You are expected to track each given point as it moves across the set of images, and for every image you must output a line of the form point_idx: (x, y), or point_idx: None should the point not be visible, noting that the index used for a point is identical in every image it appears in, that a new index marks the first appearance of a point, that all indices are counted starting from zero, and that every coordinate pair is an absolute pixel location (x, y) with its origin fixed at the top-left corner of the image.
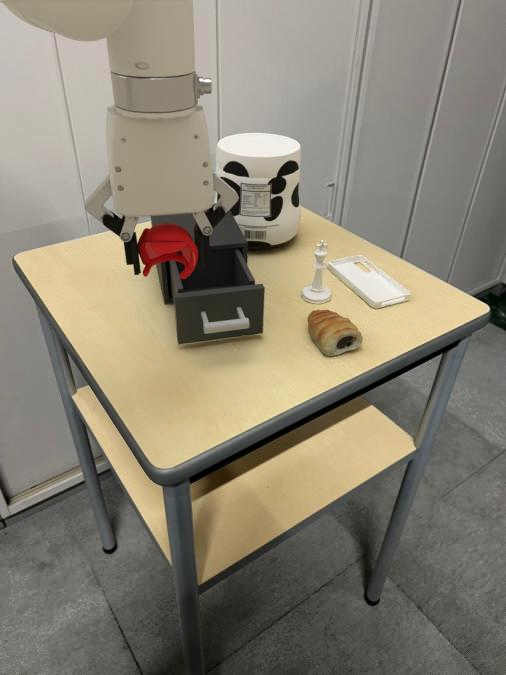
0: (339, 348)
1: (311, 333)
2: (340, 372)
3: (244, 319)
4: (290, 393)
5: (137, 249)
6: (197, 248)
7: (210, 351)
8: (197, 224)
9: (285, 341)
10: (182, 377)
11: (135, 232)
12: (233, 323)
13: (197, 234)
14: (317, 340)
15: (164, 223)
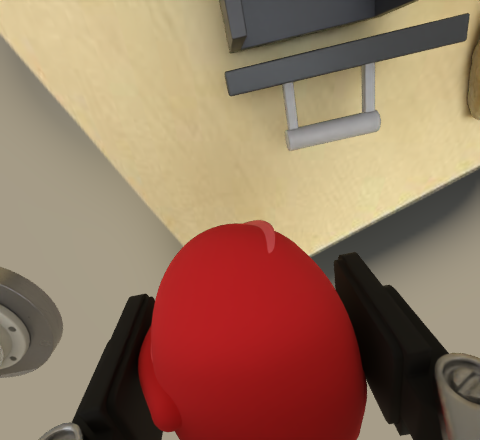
0: None
1: (477, 67)
2: (469, 153)
3: (372, 125)
4: (383, 195)
5: (159, 438)
6: (365, 370)
7: (282, 96)
8: (426, 423)
9: (419, 65)
10: (239, 163)
11: (117, 413)
12: (347, 135)
13: (396, 408)
14: (477, 89)
15: (257, 437)
